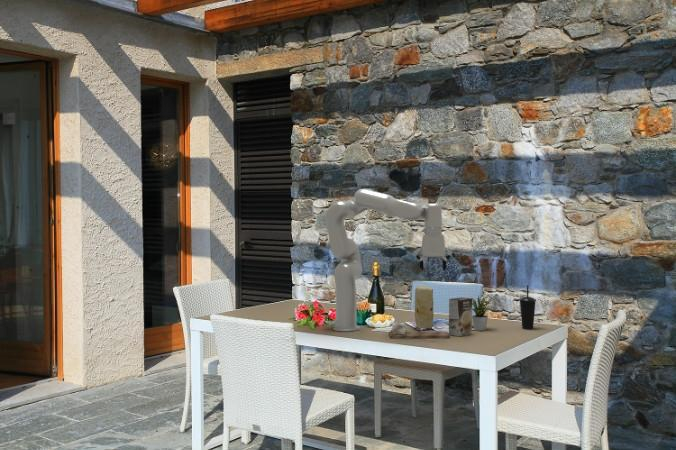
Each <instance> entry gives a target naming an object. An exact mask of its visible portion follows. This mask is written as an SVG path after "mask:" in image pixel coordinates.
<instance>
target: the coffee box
mask: <svg viewBox="0 0 676 450" xmlns="http://www.w3.org/2000/svg"><path fill="white" fill-rule="evenodd" d="M472 298H473V297H472ZM472 298H471V297H454V298H449V299H448V334H449V335H450V336H455V337H463V336H469V335H472V334H473V318H472V316H473V310H472V309H473V305H472V303H473V300H472Z"/></svg>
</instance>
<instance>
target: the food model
mask: <svg viewBox="0 0 676 450" xmlns="http://www.w3.org/2000/svg"><path fill="white" fill-rule="evenodd" d="M414 289H415V290H414V321H415V325H416V328H417V327H419V328H432V327H433V328H434V289H433V288H432V287H430V286H426V285H418V286H416V287H415V288H414ZM419 328H418V329H419ZM433 328H432V329H433Z"/></svg>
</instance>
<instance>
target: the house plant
mask: <svg viewBox="0 0 676 450" xmlns="http://www.w3.org/2000/svg"><path fill="white" fill-rule="evenodd" d="M476 296H477V298H474V297H472V296H470V298H472V312H474V313H475V314H474V315H473V314H472V325H473V330H475V331H478V332H479V331H480V332H481V331H486V330H487V323H488V318H489V317H488V315H486V313H487V312H488V311H491V312H493V309H491V308H493V306H488V305H490V304H492V301H493V300H494V298H492V299H489V300H488V301H486V298H487V297H486V296H485V295H483V296H482V298H481V299H480V297H479V294H478V293H477V295H476ZM475 299H476V300H475ZM487 306H488V307H487Z"/></svg>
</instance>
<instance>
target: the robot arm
mask: <svg viewBox="0 0 676 450" xmlns="http://www.w3.org/2000/svg"><path fill="white" fill-rule="evenodd" d="M367 210H372V211H376V212H380V213H382V214H387V215H390V216H394V217H397V218H401V219H403V220H404V219H405V220H409V221H420V220H424V228H421V233H424V234H422V241H421V247H419V248H417V249H416V250H415V249H414V250H413V254H414V256H415V258H417V260H418V261H419V269H420V270H421V271H424V259H425V258H441V259H442V270H443V271H446V269H447V261H448V260H449V259H450V258H451V257H452V254H453V250H450V249H449V248H447V247H445V236H444V234H443V233H442V230H443V229H442V228H443V226H442V222H443V221H442V220H443V219H442V215H443V214H442V213H443V211H442V210H443V208H442V205H441V204H440V203H421V202H414V203H413V202H409V201H405V200H401V199H397V198H395V197H394V196H392V195H390V194H388V193H383V192H379V191H376V190H373V189H372V188H360V189H358V190H357V191H356V192H355V193H354V196H353V197H351V198H349V199H347V200H337V201H335V202H333V203H332V204H331V205H329V207H328V208H327V210H326V213H325V218H324V219H325V225H326V231H327V235H328V240H329V245H330V249H331V253H332V256H333V257H334V258H335V259H338V260H340V263H338V264H337V266H336V267H335V269H334V271H333V272H334V273H333V277H334V283H335V285H334V286H335V319H334V320H326V326H332V330H334V331H336V332H357V331H360V330H361V327H360V325H357V315H358V314H357V312H358V311H357V286H356V280H358V279H359V278H360V277H361V275H362V272H363V268H362V267H363V266H362V262H361V261H362V260H361V257H360V252H359V248H358V245H357V244H356V242H355V241H354V240H353V239H351V238H349V237H348V235H347V233H348V232H347V228H346V227H345V224H344V220H346V219H352V218H355V217H357V216H359V214H361V213H364V212H365V211H367ZM420 252H421V255H420V256H419V254H418V253H420ZM446 252H448V254H447V255H446ZM445 255H446V256H445Z"/></svg>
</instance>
